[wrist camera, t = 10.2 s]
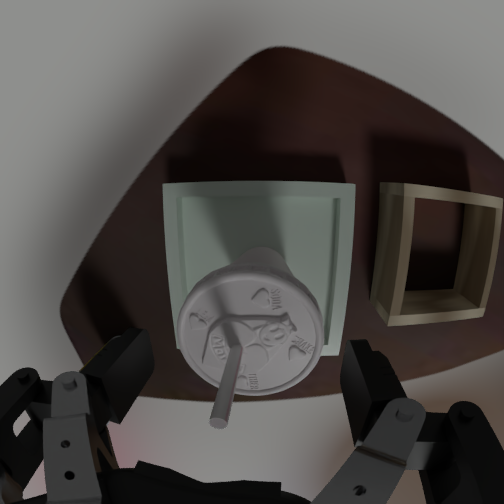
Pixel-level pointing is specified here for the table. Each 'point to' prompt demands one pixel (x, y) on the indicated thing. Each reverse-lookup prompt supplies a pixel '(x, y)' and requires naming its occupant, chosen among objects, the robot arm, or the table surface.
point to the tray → (263, 237)
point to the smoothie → (250, 329)
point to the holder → (398, 253)
